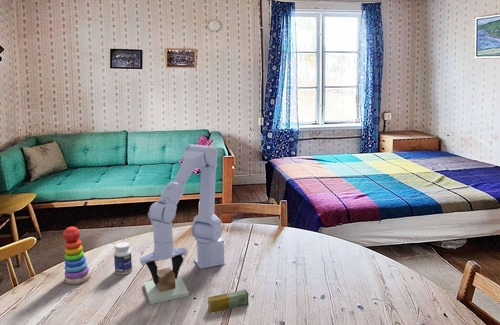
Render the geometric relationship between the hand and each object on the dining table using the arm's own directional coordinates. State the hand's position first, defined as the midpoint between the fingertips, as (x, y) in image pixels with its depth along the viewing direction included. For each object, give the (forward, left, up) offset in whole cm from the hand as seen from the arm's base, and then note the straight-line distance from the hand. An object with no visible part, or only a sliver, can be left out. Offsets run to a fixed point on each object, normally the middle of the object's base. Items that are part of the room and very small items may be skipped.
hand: (165, 280), depth 131 cm
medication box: (-15, +16, -4) cm, 23 cm away
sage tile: (0, 0, -4) cm, 4 cm away
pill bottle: (+11, -19, -4) cm, 22 cm away
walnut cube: (0, 0, -2) cm, 2 cm away
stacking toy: (+26, -19, -4) cm, 32 cm away
